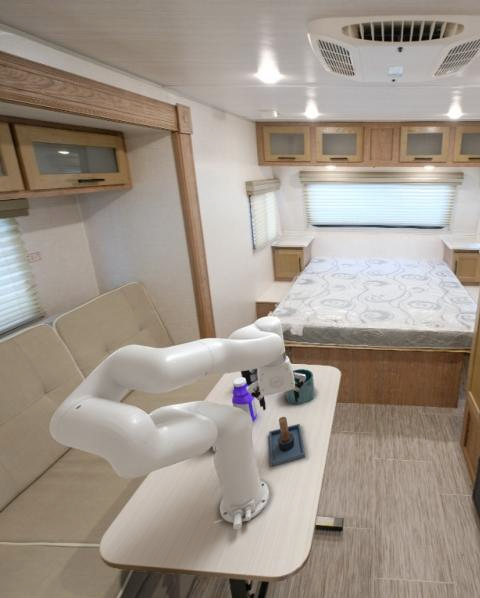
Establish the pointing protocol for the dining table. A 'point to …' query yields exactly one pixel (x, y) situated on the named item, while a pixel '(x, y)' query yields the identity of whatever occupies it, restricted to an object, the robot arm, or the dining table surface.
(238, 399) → the bottle
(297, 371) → the canister
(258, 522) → the dining table surface
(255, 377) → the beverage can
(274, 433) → the dish
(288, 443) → the scrub brush
